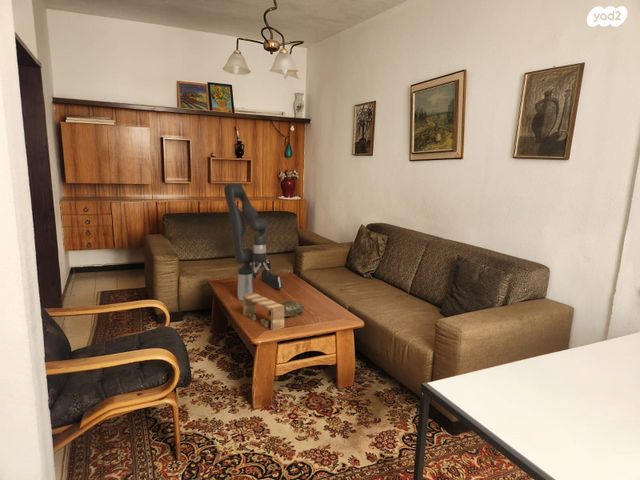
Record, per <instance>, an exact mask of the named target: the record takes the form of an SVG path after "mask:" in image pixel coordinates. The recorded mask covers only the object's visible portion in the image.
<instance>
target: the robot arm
mask: <svg viewBox="0 0 640 480" xmlns="http://www.w3.org/2000/svg"><path fill="white" fill-rule="evenodd" d="M223 191H224V197H225V201H226V204H227V208H228V215H229V220H230V227H231V231H232V238H233V248H234V249H233V250H234V259H235V261H236V263H237V264H238V265H241V264H242V266H240V267H239V268H238V269H237V298H238V300H239V301H242V302H243V295H246V294H250V293H254V291H253V290H254V289H253V288H254V287H253V285H254V284H253V283H254V281H253V279H254V280H257V272H258V271H259V269H263V268H264V269H265V276H268V271H270V270H271V269H272V266H271V264H272V263H271V259H268V258H267V246H266V245H267V243H266V236H267V233H268V228H269V227H268V226H269V223H268V222H267V220H266V219H265V218H260V219H258V218H259V213H258V211H256V209H255V208H254V206H253V205H252V203H251V201H250V200H249V197H248V195H247V193H246V191H245V189H244V187H243V186H242V184H240V183H227V184H225V186H224V190H223ZM235 199H238V200H239V201H240V202H241V210H242V211H241V210H240V209H239V207H238V206H237V204H236V200H235ZM246 219H247V221H248V224H249V227H250V229H251V231H253V232H258V233H257V234H256V235H253V249H252V248H250V247H248V248H243V238H244V235H245V233H246V230H247V225H246V224H247V223H246Z"/></svg>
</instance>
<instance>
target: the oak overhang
mask: <svg viewBox="0 0 640 480" xmlns="http://www.w3.org/2000/svg"><path fill="white" fill-rule="evenodd" d="M279 303H280V302H279ZM279 303H278V302H276V301H274V300H272V299H269V298H267V297H265V296H262V295H260V294H258V293H256V292H253V293H250V294H246V295H243V301H242V316H243V317H247V316H248V319H249V320H251V321H254V322H255V321H257V315H256V313H257V305H259V306H261V307H263V308H265V309H268V310H269V311H270V310H271V311H270V322H269V320H266V319H264V318H262V319H260V325H261V326H263V327H265V328H269V326H270V330H271V331H272V330H273V332H274V331H277V330H280V329H283V328H285V317H284V306H283V305H281V304H279Z"/></svg>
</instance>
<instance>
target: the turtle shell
mask: <svg viewBox="0 0 640 480" xmlns="http://www.w3.org/2000/svg"><path fill="white" fill-rule="evenodd" d="M279 304H281V305H283V306H284V318H287V317H288V318H289V317H296V316H299V315H301V314H302V313H303V312H304V310H305V306H304V305H303V303H302V302H297V301H294V300H293V301H291V300H287V301H283V302H279ZM269 311H270V312H271V310H269Z"/></svg>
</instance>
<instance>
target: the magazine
mask: <svg viewBox="0 0 640 480" xmlns="http://www.w3.org/2000/svg"><path fill="white" fill-rule="evenodd" d="M261 280H262V281H263V282H264V283H265V284H266V285H268V286H269V287H271V288H273V289H276V290H277V291H280V290H281V289H282V288H283V281H282V278H281V275H280V274H274V273H272V272H271V271H270V270H268V276H265V269H264V268H262V272H261Z"/></svg>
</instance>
